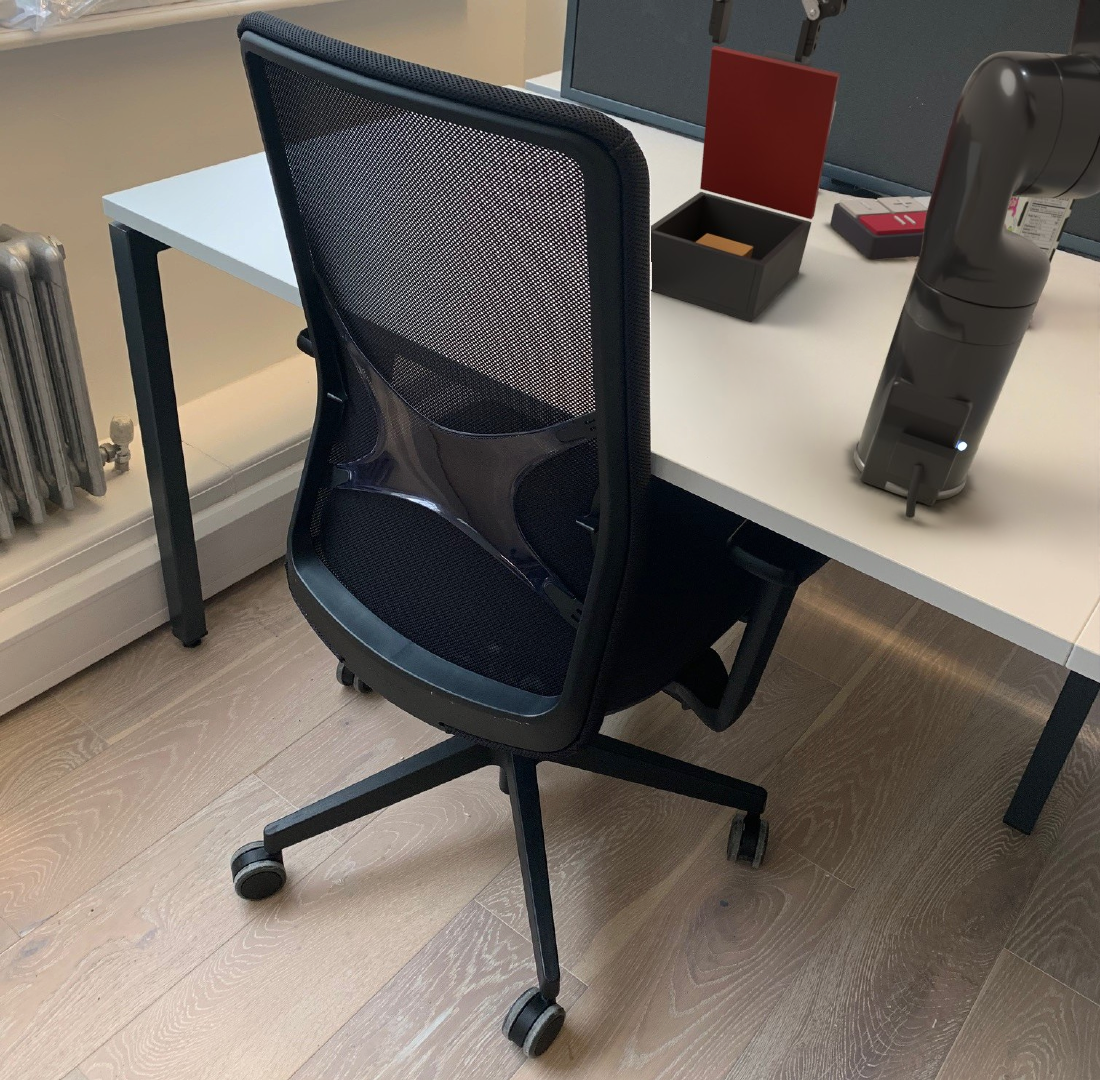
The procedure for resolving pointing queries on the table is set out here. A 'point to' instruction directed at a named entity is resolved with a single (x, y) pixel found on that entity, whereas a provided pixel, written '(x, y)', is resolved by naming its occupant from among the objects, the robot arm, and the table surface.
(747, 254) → the sandwich
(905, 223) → the calculator
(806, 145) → the box lid
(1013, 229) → the candy bar box
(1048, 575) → the table surface
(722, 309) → the open black box
